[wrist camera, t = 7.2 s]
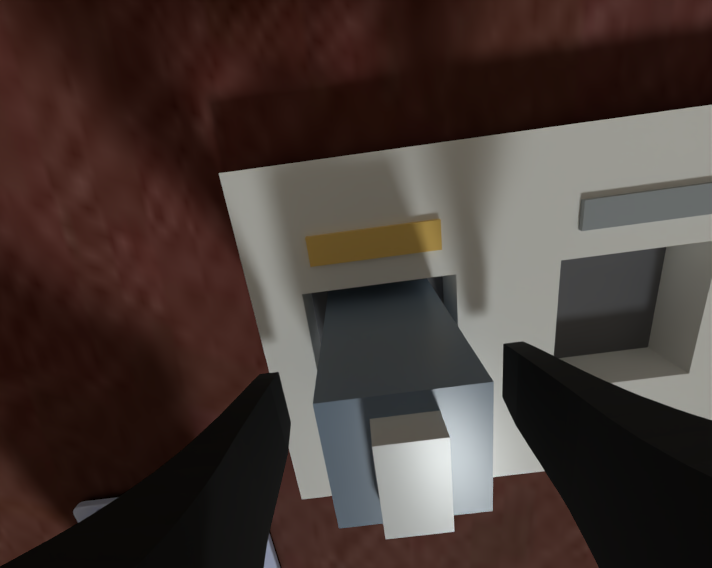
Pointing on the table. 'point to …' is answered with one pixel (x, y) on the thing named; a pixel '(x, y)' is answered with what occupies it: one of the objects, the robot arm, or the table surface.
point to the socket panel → (497, 257)
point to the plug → (402, 411)
